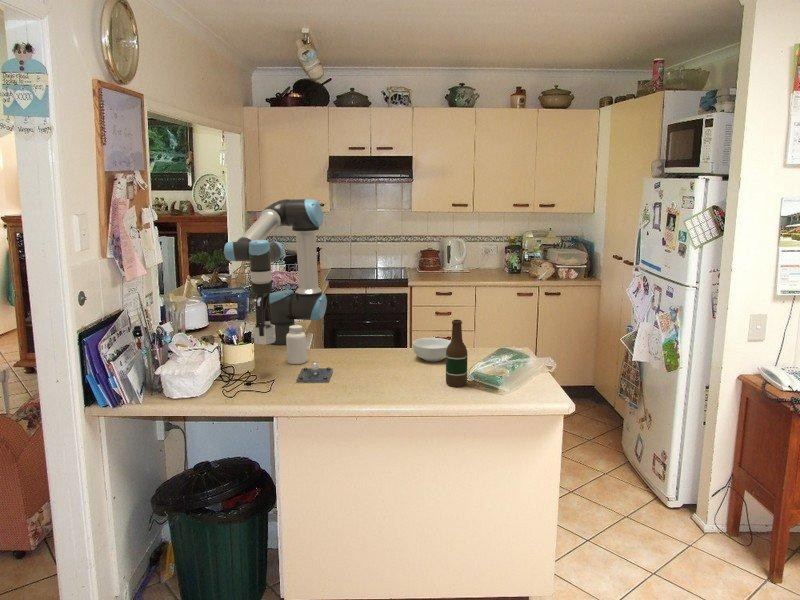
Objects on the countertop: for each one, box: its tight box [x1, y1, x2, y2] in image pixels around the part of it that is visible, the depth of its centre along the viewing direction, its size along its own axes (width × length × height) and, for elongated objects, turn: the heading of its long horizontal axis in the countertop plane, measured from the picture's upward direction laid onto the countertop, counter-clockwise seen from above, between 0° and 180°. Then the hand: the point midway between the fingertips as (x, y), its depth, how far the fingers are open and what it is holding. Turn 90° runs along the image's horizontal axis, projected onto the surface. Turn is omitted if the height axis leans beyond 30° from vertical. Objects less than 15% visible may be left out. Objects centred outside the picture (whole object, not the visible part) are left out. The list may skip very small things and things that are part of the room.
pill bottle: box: [286, 324, 308, 365], centre depth 259 cm, size 8×8×15 cm
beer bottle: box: [445, 319, 468, 388], centre depth 229 cm, size 8×8×24 cm
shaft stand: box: [296, 361, 334, 384], centre depth 241 cm, size 14×12×6 cm
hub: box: [252, 324, 276, 345], centre depth 241 cm, size 8×8×6 cm
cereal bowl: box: [412, 337, 451, 362], centre depth 262 cm, size 17×17×7 cm
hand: (265, 340), depth 241 cm, fingers closed on hub, 7 cm apart
